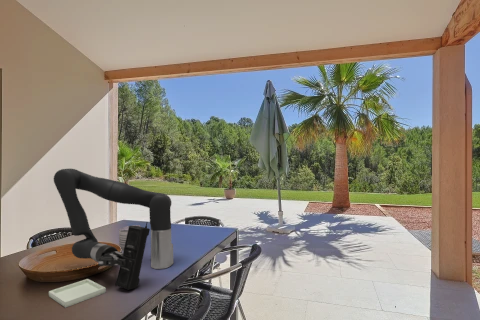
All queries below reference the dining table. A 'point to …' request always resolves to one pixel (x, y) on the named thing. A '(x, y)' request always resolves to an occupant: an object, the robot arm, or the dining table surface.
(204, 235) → the dining table surface
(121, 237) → the can
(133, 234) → the portable radio
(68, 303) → the sage tray
